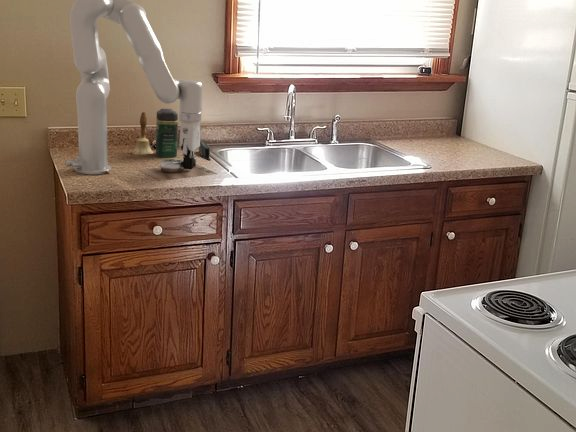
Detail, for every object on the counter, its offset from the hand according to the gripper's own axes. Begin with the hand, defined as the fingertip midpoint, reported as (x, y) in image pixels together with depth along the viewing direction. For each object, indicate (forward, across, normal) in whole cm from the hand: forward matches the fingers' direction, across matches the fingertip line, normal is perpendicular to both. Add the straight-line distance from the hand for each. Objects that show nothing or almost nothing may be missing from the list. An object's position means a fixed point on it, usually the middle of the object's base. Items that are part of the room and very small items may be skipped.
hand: (188, 168), depth 246 cm
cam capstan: (0, 0, +3) cm, 3 cm away
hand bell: (+3, +22, +25) cm, 34 cm away
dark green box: (+2, +28, +2) cm, 29 cm away
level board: (+2, -3, +2) cm, 4 cm away
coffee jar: (+2, +19, +14) cm, 24 cm away
